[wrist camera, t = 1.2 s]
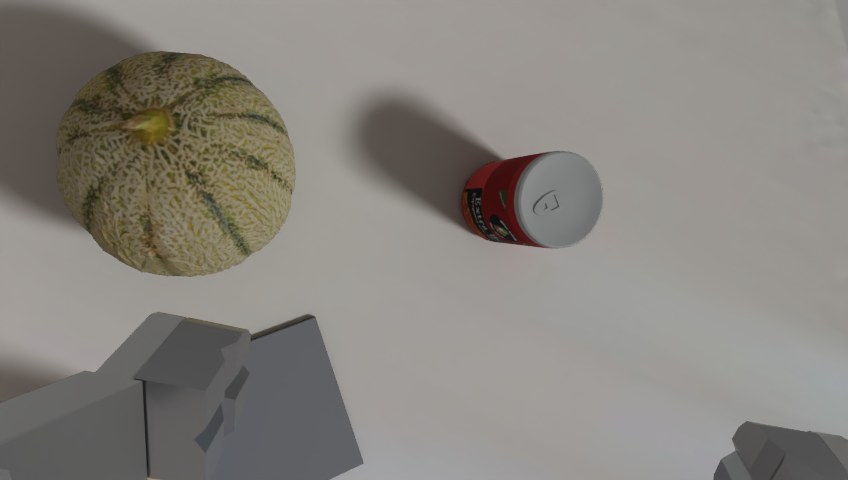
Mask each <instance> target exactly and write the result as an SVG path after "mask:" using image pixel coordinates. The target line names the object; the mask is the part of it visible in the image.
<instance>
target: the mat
mask: <svg viewBox="0 0 848 480" xmlns="http://www.w3.org/2000/svg"><path fill="white" fill-rule="evenodd" d="M243 365H244V366H245V368H246V369H247V371H248V372H249V373H250V375H249V388H248V393H247V399H246V403H245V406H244V409H243V412H242V415H241V418H240V420H239V422H238V424H237V426H236V428H235V430H234V431H233V432H231V433H230V434H228V435H226V436H224V437H223V453H222V455H221V457H220V459H219V461H218V463H217V465H216V467H215V468H214V470H213V472H212V474H211V476H210V478H209V480H329V479H331V478H333V477H336V476H338V475H340V474H342V473H344V472H346V471H348V470H350V469H353V468H355V467H357V466H359V465H361V464H363V460H362V457H361V454H360V451H359V448H358V445H357V442H356V439H355V436H354V433H353V430H352V427H351V424H350V421H349V418H348V415H347V412H346V409H345V406H344V403H343V400H342V397H341V394H340V390H339V387H338V384H337V381H336V378H335V375H334V372H333V369H332V366H331V363H330V360H329V357H328V354H327V351H326V348H325V345H324V342H323V339H322V336H321V333H320V330H319V327H318V324H317V321H316V318H315V317H311V318H309V319H306V320H303V321H301V322H298V323H295V324H293V325H290V326H287V327H285V328H282V329H279V330H276V331H274V332H271V333H268V334H266V335H263V336H260V337H258V338H255V339H252V340H251V352H250V353H249V355H248V357H247V359H246V360H245V362H244V364H243Z"/></svg>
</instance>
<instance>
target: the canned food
mask: <svg viewBox="0 0 848 480" xmlns="http://www.w3.org/2000/svg"><path fill="white" fill-rule="evenodd" d="M602 208H603V188H602V184H601V180H600V178H599V176H598V173H597V171H596V170H595V169H594V167H593V166H592V165H591V164H590V163H589V162H588V161H587V160H586V159H585V158H583V157H582V156H580V155H578V154H575V153H572V152H566V151H554V152H547V153H540V154H534V155H529V156H523V157H518V158H512V159H507V160H501V161H496V162H492V163H489V164H486V165H484V166H483V167H481V168H480V169H479V170H477V171H476V172H475V173H474V174H473V175H472V176H471V178H470V179H469V180H468V182H467V184H466V186H465V188H464V191H463V195H462V211H463V215H464V218H465V220H466V222H467V224H468V225H469V226H470V228H471V229H472V230H473V231H474V232H475V233H476V234H478V235H479V236H480V237H482V238H484V239H486V240H489V241H493V242H500V243H508V244H517V245H525V246H533V247H542V248H565V247H570V246H573V245H575V244H577V243H579V242H580V241H582V240H583V239H585V238H586V237H587V236H588V235H589V234H590V233H591V232H592V230H593V229H594V227H595V226H596V224H597V222H598V220H599V218H600V215H601V212H602Z"/></svg>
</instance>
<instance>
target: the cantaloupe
mask: <svg viewBox="0 0 848 480" xmlns="http://www.w3.org/2000/svg"><path fill="white" fill-rule="evenodd" d="M57 154H58V161H57V181H58V184H59V190H60V192H61V194H62V197H63V199H64V201H65V205H66V206H67V207H68V209H69V210H70V211H71V213H72V215H73V217H74V218H75V219H76V220H77V221H78V223H79V224H80V225H81V226H82V227H83V228H84V229H86V230H87V231H88V232H89V233H90V234H91V235H92V236H93V239H94V240H95V241H96V242H97V243H98V245H99V246H100V247H101V248H102V249H103V251H105V252H107V253H109V254H110V255H112V256H113V257H115V258H117V259H118V260H119V261H121V262H123V263H125V264H127V265H129V266H131V267H133V268H135V269H137V270H139V271H141V272H148V273H152V274H157V275H165V276H188V277H192V276H196V275H202V276H204V275H207V274H213V273H217V272H220V271H223V270H225V269H229V268H230V267H232V266H236V265H238V264H241V263H242V262H243V261H244V260H245V259H246V258H248V257H249V256H250V255H251V254H252V253H254V252H256V251H259V250H261V249H262V248H263V247H264V246H266V245H267V244H268V243H269V242H270V241H271V240H272V239H273V238H274V237H275V235H276V234H277V233H279V230H280V228H281V227H282V225H283V224H284V223H285V220H286V218H287V217H288V213H289V210H290V206H291V195H292V193H293V191H294V186H295V178H296V176H295V172H296V170H295V159H294V150H293V147H292V144H291V142H290V140H289V137H288V133H287V129H286V126H285V124H284V121H283V120H282V118H281V115H280V114H279V113H278V111H277V110H276V109H275V107H274V105H273V104H272V103H271V102H270V100H269V99H268V98H267V97H266V96H265V95H264V93H263V92H261V91H260V90H259V89H257V88H256V87H255V86H254V85H253V84H252V83H251V81H250V80H248V79H247V78H246V76H245V75H242V74H241V73H240V72H239V71H238V70H236V69H234V68H233V67H231V66H230V65H228V64H226V63H223V62H220V61H218V60H216V59H214V58H211V57H206V56H203V55H201V54H187V53H175V52H163V51H160V52H149V53H145V54H141V55H137V56H133V57H130V58H128V59H125V60H123V61H121V62H120V63H119V64H117V65H115V66H113V67H111V68H109V69H108V70H106V71H104V72H102V73H101V74H99V75H98V76H96V77H94V78H93V79H92V80H91V81H90V82H89V83H88V84H87V85H86V86H85V87H84V88H83V89H82V90H81V91H80V92H79V93H78V94H77V95H76V97H75V99H74V102H73V104H72V105H71V107H70V108H69V110H68V111H67V112H66V113H65V115H64V117H63V119H62V120H61V122H60V126H59V129H58V132H57Z"/></svg>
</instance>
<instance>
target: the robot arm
mask: <svg viewBox="0 0 848 480" xmlns="http://www.w3.org/2000/svg"><path fill="white" fill-rule="evenodd" d="M250 352H251V334H250V332H249V331H248V330H247V329H242V328H237V327H232V326H228V325H223V324H218V323H213V322H208V321H203V320H198V319H193V318H186V317H183V316H177V315H172V314H167V313H161V312H157V313H153V314H151V315H149V316H148V317H147V318H146V320H145V321H144V322H143V323H142V324H141V325H140V326H139V327H138V328H137V329H136V330H135V331H134V332H133V333H132V334H131V335H130V336H129V337H128V338H127V339H126V340H125V342H124V343H123V344H122V345H121V346H120V347H119V348H118V349H117V350H116V351H115V352H114V353H113V354H112V355H111V356H110V357H109V358H108V359H107V360H106V361H105V362H104V364H103V365H102V366H101V367H100V368H99V369H98V370H97V371H96V372H90V371H83V372H80V373H78V374H75V375H73V376H70V377H67V378H65V379H62V380H59V381H57V382H54V383H52V384H49V385H46V386H44V387H41V388H38V389H36V390H33V391H30V392H28V393H25V394H23V395H20V396H17V397H15V398H12V399H9V400H7V401H4V402H2V403H0V480H148V479H147V478H152V479H158V480H209V478H210V476H211V474H212V472H213V470H214V468H215V467H216V465H217V463H218V461H219V459H220V457H221V455H222V453H223V437H224V436H226V435H228V434H230V433H231V432H233V431H234V430H235V428H236V426H237V424H238V422H239V420H240V418H241V415H242V412H243V409H244V406H245V403H246V399H247V393H248V388H249V375H250V373H249V372H248V371H247V369H246V368H245V366H244V365H243V364H244V362H245V360H246V359H247V357H248V355H249V353H250ZM732 441H733V444H734V447H735V450H736V451H734V452H733V453H731V454H729V455H728V456H726V457H724V458H722V459H721V461H720V463H719V465H718V467H717V469H716V471H715V473H714V480H848V440H847V439H845V438H843V437H842V436H838V435H831V434H825V433H818V432H812V431H808V432H805V431H799V430H794V429H788V428H783V427H777V426H771V425H766V424H760V423H754V422H749V421H746V422H745V423H744V424H742V425H741V426H740V427H738V429H737V431H736V433H735V435H734V436H733V438H732Z"/></svg>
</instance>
